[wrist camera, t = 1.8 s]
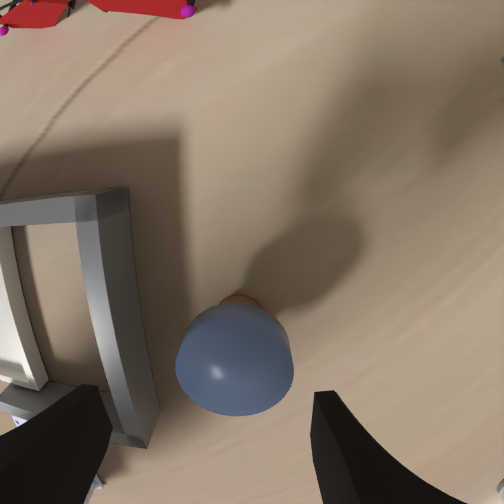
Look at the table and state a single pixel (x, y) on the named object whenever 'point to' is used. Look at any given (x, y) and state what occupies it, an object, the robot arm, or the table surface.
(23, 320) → the tray
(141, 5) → the glasses
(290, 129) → the table surface
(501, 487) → the travel mug
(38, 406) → the grey storage bin
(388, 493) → the robot arm
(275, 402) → the disc
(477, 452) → the table surface
